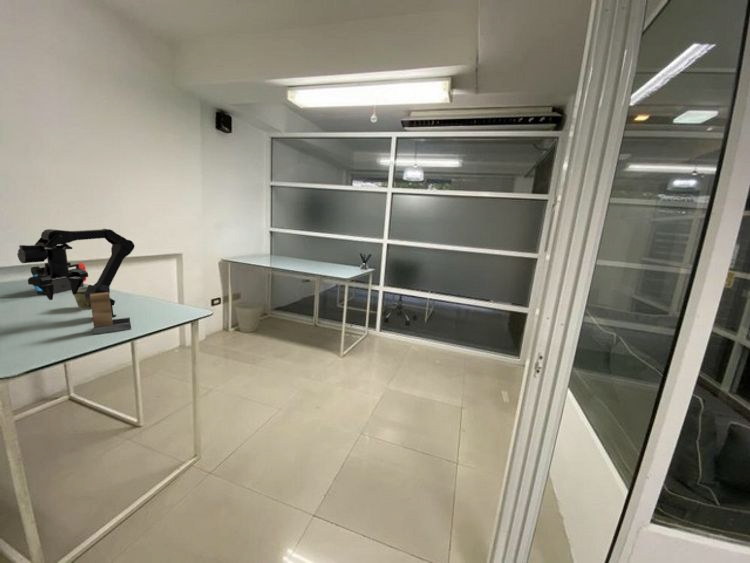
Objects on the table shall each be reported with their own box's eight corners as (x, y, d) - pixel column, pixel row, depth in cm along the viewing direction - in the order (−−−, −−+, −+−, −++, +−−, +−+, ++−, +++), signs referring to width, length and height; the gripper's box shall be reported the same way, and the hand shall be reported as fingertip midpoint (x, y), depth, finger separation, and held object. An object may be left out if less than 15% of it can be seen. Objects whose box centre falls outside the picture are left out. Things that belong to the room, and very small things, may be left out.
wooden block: (94, 327, 131) (90, 293, 128) (112, 325, 135) (109, 292, 132) (94, 330, 128) (89, 296, 125) (113, 328, 132) (109, 294, 129)
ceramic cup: (71, 308, 154) (68, 288, 152) (96, 303, 162) (93, 285, 160) (83, 313, 148) (80, 293, 146) (108, 308, 157) (106, 289, 155)
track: (94, 334, 127) (93, 328, 126) (94, 327, 133) (94, 321, 133) (131, 329, 134) (130, 323, 134) (130, 323, 141) (129, 317, 140)
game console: (40, 297, 167) (36, 270, 164) (29, 296, 167) (24, 269, 164) (90, 285, 194) (87, 262, 191) (80, 285, 194) (77, 262, 191)
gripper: (63, 256, 136) (68, 290, 140) (11, 262, 118) (18, 301, 122) (87, 258, 136) (91, 292, 139) (38, 264, 117) (44, 303, 121)
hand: (62, 297), depth 130 cm, fingers open, 9 cm apart
